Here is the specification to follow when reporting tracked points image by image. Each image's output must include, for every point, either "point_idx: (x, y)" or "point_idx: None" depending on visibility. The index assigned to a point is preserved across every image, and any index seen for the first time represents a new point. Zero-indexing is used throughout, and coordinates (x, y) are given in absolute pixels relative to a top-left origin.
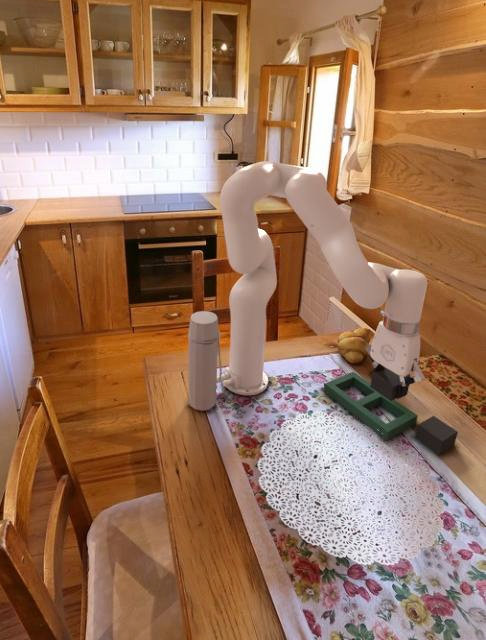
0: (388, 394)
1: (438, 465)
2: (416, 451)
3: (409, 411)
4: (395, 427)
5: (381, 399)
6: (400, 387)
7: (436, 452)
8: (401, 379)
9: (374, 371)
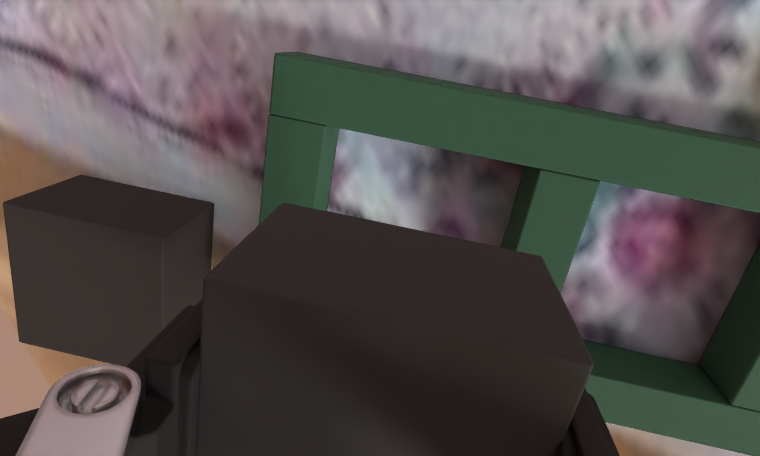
0: (305, 228)
1: (43, 106)
2: (154, 112)
3: None
4: (267, 136)
5: None
6: (170, 348)
7: (89, 179)
8: (87, 442)
9: (594, 433)
